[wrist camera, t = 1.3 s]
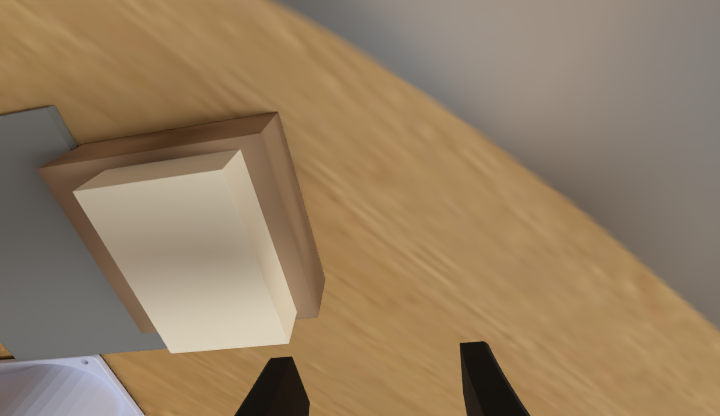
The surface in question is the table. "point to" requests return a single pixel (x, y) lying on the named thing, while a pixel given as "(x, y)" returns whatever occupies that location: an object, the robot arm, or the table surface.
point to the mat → (51, 257)
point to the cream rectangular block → (194, 250)
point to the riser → (249, 134)
